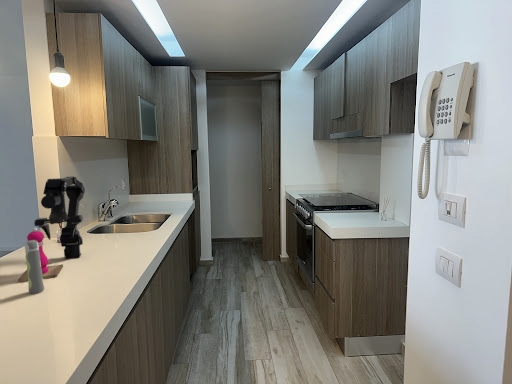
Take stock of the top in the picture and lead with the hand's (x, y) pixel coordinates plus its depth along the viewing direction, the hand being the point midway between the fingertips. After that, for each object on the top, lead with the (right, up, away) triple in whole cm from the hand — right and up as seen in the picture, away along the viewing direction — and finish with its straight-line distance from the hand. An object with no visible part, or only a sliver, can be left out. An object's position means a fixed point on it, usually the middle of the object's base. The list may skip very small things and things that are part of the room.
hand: (61, 238), depth 152 cm
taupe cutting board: (-3, -14, -9) cm, 17 cm away
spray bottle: (+7, -17, -28) cm, 33 cm away
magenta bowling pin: (-3, -14, -11) cm, 18 cm away
